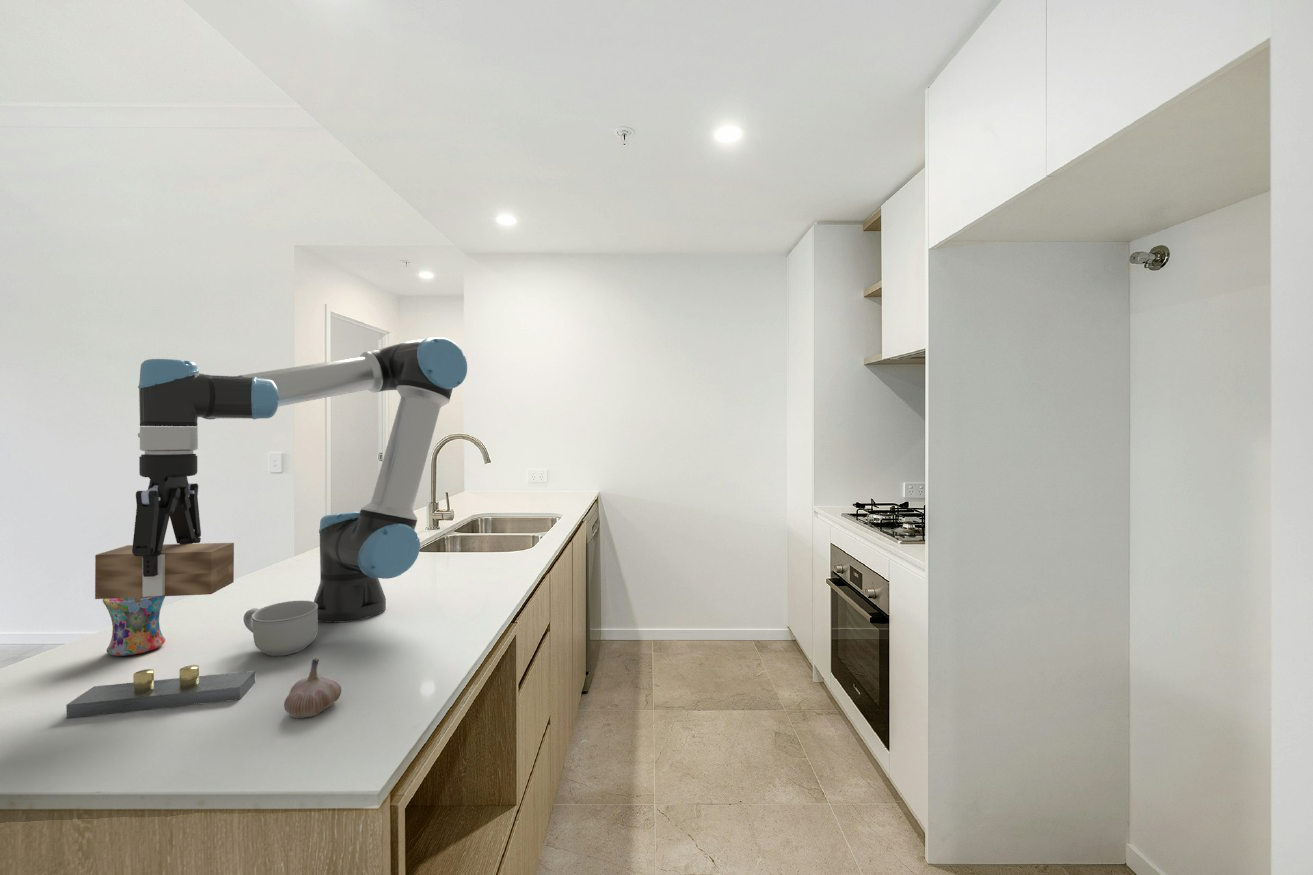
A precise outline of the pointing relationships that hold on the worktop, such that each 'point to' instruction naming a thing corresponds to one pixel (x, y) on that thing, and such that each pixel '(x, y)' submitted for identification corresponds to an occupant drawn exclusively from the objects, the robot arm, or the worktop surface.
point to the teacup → (283, 626)
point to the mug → (134, 624)
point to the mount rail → (161, 692)
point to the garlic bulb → (312, 694)
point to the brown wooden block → (166, 570)
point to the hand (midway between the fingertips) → (169, 588)
